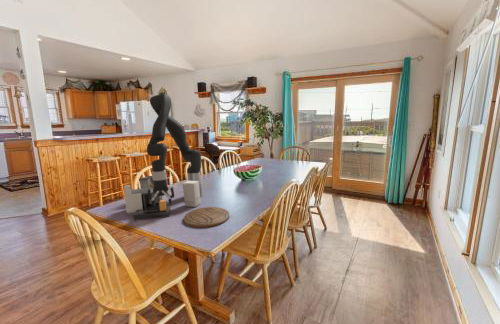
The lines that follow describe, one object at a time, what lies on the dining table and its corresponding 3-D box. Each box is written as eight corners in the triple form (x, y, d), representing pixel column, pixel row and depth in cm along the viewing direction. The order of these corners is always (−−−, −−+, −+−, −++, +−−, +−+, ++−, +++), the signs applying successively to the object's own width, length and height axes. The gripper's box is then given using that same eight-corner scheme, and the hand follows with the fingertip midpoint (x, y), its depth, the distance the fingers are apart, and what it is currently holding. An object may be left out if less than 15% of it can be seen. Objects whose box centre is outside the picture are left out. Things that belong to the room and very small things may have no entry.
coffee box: (149, 197, 178) (147, 175, 175) (157, 197, 177) (155, 175, 174) (141, 201, 169) (139, 178, 166) (150, 202, 168) (147, 179, 165)
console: (170, 211, 150) (170, 206, 150) (169, 216, 143) (168, 211, 142) (136, 214, 146) (136, 210, 146) (133, 220, 139) (133, 215, 138)
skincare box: (201, 204, 162) (199, 180, 159) (195, 207, 156) (193, 183, 153) (189, 202, 164) (188, 180, 161) (184, 206, 158) (182, 182, 155)
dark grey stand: (162, 204, 162) (161, 187, 160) (160, 211, 150) (158, 192, 148) (133, 207, 158) (130, 189, 156) (128, 215, 147) (125, 195, 144)
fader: (166, 207, 148) (165, 199, 147) (165, 210, 143) (164, 201, 143) (161, 208, 147) (160, 199, 146) (160, 210, 143) (159, 202, 142)
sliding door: (143, 210, 150) (140, 184, 147) (142, 211, 149) (139, 185, 145) (127, 212, 148) (123, 185, 145) (126, 213, 147) (122, 186, 144)
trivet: (211, 206, 157) (211, 204, 157) (238, 217, 140) (238, 214, 140) (175, 219, 139) (175, 216, 139) (201, 233, 122) (201, 229, 122)
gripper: (173, 175, 147) (175, 202, 150) (147, 177, 144) (150, 204, 147) (172, 178, 140) (174, 206, 143) (145, 180, 137) (148, 208, 140)
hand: (162, 205), depth 145 cm, fingers open, 8 cm apart
